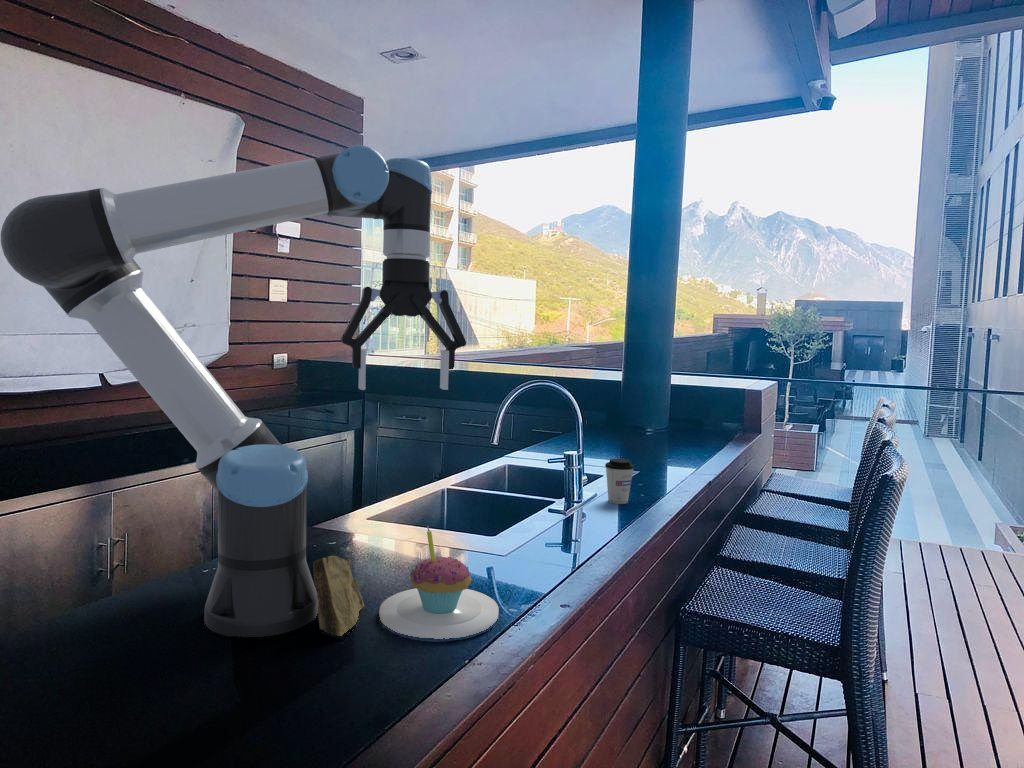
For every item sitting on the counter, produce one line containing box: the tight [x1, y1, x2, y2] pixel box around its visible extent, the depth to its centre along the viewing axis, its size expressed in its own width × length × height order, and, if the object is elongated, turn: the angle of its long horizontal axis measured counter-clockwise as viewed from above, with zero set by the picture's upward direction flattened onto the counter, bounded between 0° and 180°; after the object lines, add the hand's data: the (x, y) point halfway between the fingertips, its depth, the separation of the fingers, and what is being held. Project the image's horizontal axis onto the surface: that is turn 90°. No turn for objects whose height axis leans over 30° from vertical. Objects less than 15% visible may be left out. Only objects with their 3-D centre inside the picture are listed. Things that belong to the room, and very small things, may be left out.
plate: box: [378, 588, 500, 639], centre depth 105 cm, size 17×17×1 cm
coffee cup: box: [604, 458, 635, 505], centre depth 175 cm, size 7×7×10 cm
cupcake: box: [410, 525, 472, 614], centre depth 105 cm, size 9×8×12 cm
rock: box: [312, 555, 365, 636], centre depth 102 cm, size 11×9×10 cm
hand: (403, 389), depth 121 cm, fingers open, 13 cm apart
